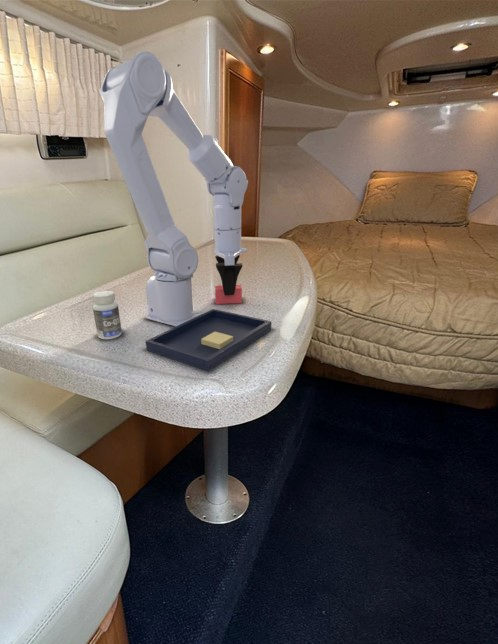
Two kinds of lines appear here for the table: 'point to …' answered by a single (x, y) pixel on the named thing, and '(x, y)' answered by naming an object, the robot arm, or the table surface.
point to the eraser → (225, 299)
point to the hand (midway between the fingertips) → (228, 289)
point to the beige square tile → (217, 340)
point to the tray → (188, 335)
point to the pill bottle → (106, 315)
